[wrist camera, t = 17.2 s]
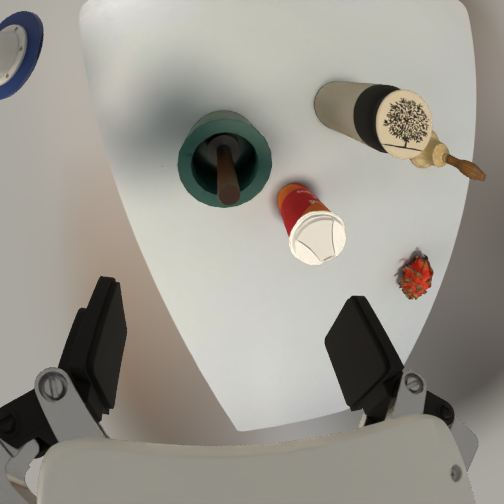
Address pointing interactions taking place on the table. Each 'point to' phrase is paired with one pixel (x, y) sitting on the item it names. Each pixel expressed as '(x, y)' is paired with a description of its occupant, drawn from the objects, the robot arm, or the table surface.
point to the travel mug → (376, 116)
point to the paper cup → (310, 225)
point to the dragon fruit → (416, 277)
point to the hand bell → (445, 159)
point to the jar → (205, 172)
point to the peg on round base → (225, 165)
